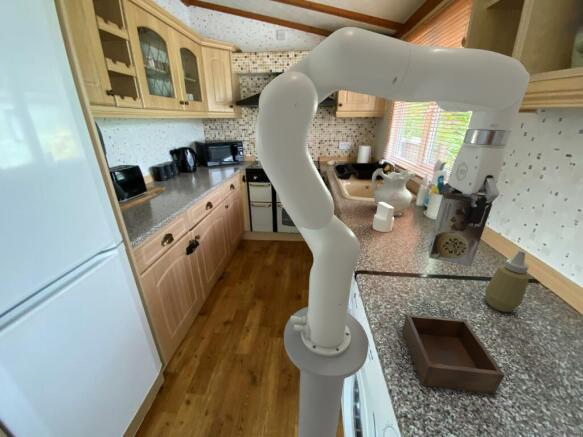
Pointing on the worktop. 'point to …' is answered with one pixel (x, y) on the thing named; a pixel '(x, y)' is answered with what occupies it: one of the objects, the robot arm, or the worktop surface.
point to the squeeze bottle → (508, 284)
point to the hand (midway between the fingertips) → (460, 215)
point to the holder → (450, 355)
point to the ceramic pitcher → (393, 189)
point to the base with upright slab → (383, 217)
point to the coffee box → (456, 230)
